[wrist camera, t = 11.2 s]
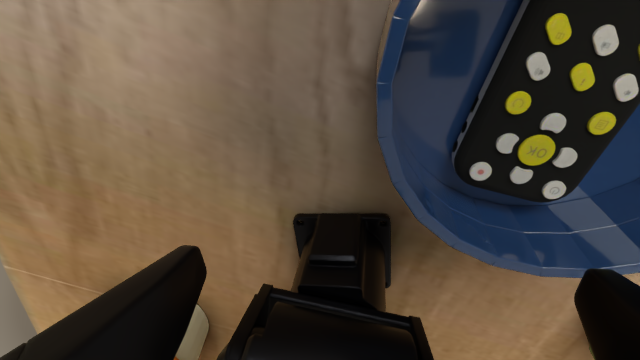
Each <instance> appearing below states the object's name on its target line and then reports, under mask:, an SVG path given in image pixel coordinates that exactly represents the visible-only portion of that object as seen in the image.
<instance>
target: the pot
mask: <svg viewBox="0 0 640 360" xmlns="http://www.w3.org/2000/svg"><path fill="white" fill-rule="evenodd" d="M522 2H523V0H392V1H391V3H390V7H389V8H388V12H387V16H386V20H385V25H384V28H383V32H382V37H381V42H380V46H379V50H378V55H377V73H376V103H377V137H378V142H379V145H380V148H381V151H382V154H383V157H384V160H385V164H386V167H387V170H388V173H389V176H390V179H391V182H392V183H393V186H394V187H395V189H396V190H397V192H398V193H399V194H400V196H401V197H402V199H403V200H404V202H405V203H406V205H407V206H408V207H409V209H410V210H411V212H412V213H413V215H414V216H415V217H416V219H417V220H418V221H419V222H420V223H422V224H423V225H424V226H425V227H427V228H428V229H429V230H430V231H432V232H433V233H434V234H435V235H437V236H438V237H439V238H440V239H441V240H443V241H444V242H445V243H446V244H448V245H449V246H450V247H452V248H454V249H456V250H458V251H461V252H463V253H465V254H467V255H469V256H472V257H474V258H476V259H478V260H480V261H482V262H485V263H487V264H489V265H492V266H495V267H499V268H504V269H508V270H513V271H517V272H522V273H526V274H531V275H535V276H540V277H566V278H582V277H583V275H584V273H585V271H586V270H588V269H590V268H599V269H610V270H613V271H615V272H617V273H619V274H620V275H625V274H633V273H640V104H639V105H638V107H637V108H636V109H635V111H634V112H633V113H632V115H631V116H630V117H629V119H628V120H627V121H626V123H625V124H624V125H623V126H622V128H621V129H620V130H619V132H618V133H617V134H616V136H615V137H614V138H613V140H612V141H611V142H610V144H609V145H608V146H607V148H606V149H605V150H604V152H603V153H602V154H601V156H600V157H599V158H598V159H597V161H596V162H595V163H594V165H593V166H592V167H591V169H590V170H589V171H588V173H587V174H586V175H585V177H584V178H583V179H582V181H581V182H580V183H579V185H578V186H577V187H576V188H575V189H574V190H573V191H572V192H571V193H570V194H568V195H567V196H565V197H563V198H561V199H559V200H555V201H551V202H542V203H540V202H533V201H529V200H525V199H521V198H517V197H513V196H509V195H505V194H501V193H497V192H493V191H489V190H485V189H481V188H477V187H474V186H471V185H469V184H466V183H465V182H464V181H462V180H461V179H460V177H459V176H458V175H457V173H456V171H455V169H454V166H453V163H452V151H453V145H454V143H455V142H456V141H457V139H458V137H459V135H460V133H461V131H462V126H463V124H464V123H465V122H466V120H467V118H468V116H469V114H470V109H471V107H472V105H473V103H474V101H475V99H476V97H477V95H479V93H480V90H481V88H482V86H483V84H484V82H485V80H486V78H487V76H488V74H489V71H490V69H491V67H492V65H493V63H494V61H495V59H496V57H497V55H498V52H499V50H500V48H501V46H502V44H503V42H504V40H505V38H506V35H507V33H508V31H509V29H510V27H511V25H512V23H513V21H514V19H515V16H516V14H517V12H518V10H519V8H520V6H521V4H522Z"/></svg>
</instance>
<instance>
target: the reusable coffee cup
mask: <svg viewBox="0 0 640 360" xmlns="http://www.w3.org/2000/svg"><path fill="white" fill-rule="evenodd" d="M208 329H209V324H208V319H207V317H206V315H205V313H204V312H203V310H202V309H201V308H200V307H199V306H198V305H197V304H196V307H195V310H194V312H193V315H192V318H191V321H190V324H189V326H188V329H187V331H186V334H185V336H184V338H183V341H182V343H181V345H180V347H179V349H178V351H177V353H176V355H175V358H174V360H198V359H199V356H200V353H201V350H202V347H203V344H204V342H205V339H206V336H207V333H208Z"/></svg>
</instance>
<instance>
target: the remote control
mask: <svg viewBox="0 0 640 360" xmlns="http://www.w3.org/2000/svg"><path fill="white" fill-rule="evenodd" d="M639 104H640V0H523V2H522V4H521V6H520V8H519V10H518V12H517V14H516V16H515V19H514V21H513V23H512V25H511V27H510V29H509V31H508V33H507V35H506V38H505V40H504V42H503V44H502V46H501V48H500V50H499V52H498V55H497V57H496V59H495V61H494V63H493V65H492V67H491V69H490V71H489V74H488V76H487V78H486V80H485V82H484V84H483V86H482V88H481V90H480V93H479V95H477V97H476V99H475V101H474V103H473V105H472V107H471V109H470V114H469V116H468V118H467V120H466V122H465V123H464V124H463V126H462V131H461V133H460V135H459V137H458V139H457V141H456V142H455V143H454V145H453V151H452V163H453V166H454V169H455V171H456V173H457V175H458V176H459V177H460V179H461V180H462V181H464V182H465V183H466V184H469V185H471V186H474V187H477V188H481V189H485V190H489V191H493V192H497V193H501V194H505V195H509V196H513V197H517V198H521V199H525V200H529V201H533V202H540V203H542V202H551V201H555V200H559V199H561V198H563V197H565V196H567V195H568V194H570V193H571V192H572V191H573V190H574V189H575V188H576V187H577V186H578V185H579V183H580V182H581V181H582V179H583V178H584V177H585V175H586V174H587V173H588V171H589V170H590V169H591V167H592V166H593V165H594V163H595V162H596V161H597V159H598V158H599V157H600V156H601V154H602V153H603V152H604V150H605V149H606V148H607V146H608V145H609V144H610V142H611V141H612V140H613V138H614V137H615V136H616V134H617V133H618V132H619V130H620V129H621V128H622V126H623V125H624V124H625V123H626V121H627V120H628V119H629V117H630V116H631V115H632V113H633V112H634V111H635V109H636V108H637V107H638V105H639Z"/></svg>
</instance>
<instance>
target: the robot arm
mask: <svg viewBox="0 0 640 360" xmlns="http://www.w3.org/2000/svg"><path fill="white" fill-rule="evenodd" d="M298 220H302V221H303V222H299V221H298ZM380 221H385V223H380ZM293 225H294V230H295V235H296V241H297V246H298V251H299V257H300V261H299V265H298V268H297V272H296V275H295V279H294V282H293V286H292V289H291V291H287V290H283V289H278V288H274V287H273V285H268V284H263V285H262V287H261V289H260V291H259V293H258V294H255V296H254V298H253V300H252V301H251V303H250V305H249V307H248V309H247V311H246V312H245V314H244V316H243V318H242V320H241V322H240V323H239V325H238V327H237V329H236V331H235V332H234V334H233V336H232V338H231V340H230V342H229V343H228V344H227V346H226V347H225V348H224V349H223V350H222V352H221V353H220V354H219V356H218V357H217V360H434V359H433V356H432V353H431V349H430V346H429V343H428V340H427V337H426V334H425V331H424V328H423V325H422V322H421V319H420V318H419V317H414V316H409V317H406V316H401V315H397V314H392V313H388V312H386V302H385V288H388V287H389V286H390V285H391V221H390V218H389V216H387V215H385V214H327V213H322V214H297V215H296V216H295V218H294V220H293ZM206 274H207V271H206V266H205V263H204V260H203V257H202V254H201V251H200V249H199V248H198V247H197V246H188V245H183V246H180V247H178V248H177V249H175V250H174V251H172V252H170V253H169V254H167V255H166V256H164V257H162V258H161V259H159V260H157V261H156V262H154V263H153V264H151V265H149V266H148V267H146V268H145V269H143V270H141V271H140V272H138V273H136V274H135V275H133V276H132V277H130V278H128V279H127V280H125V281H124V282H122V283H120V284H119V285H117V286H115V287H114V288H112V289H111V290H109V291H107V292H106V293H104V294H102V295H101V296H99V297H98V298H96V299H94V300H93V301H91V302H90V303H88V304H86V305H85V306H83V307H81V308H80V309H78V310H77V311H75V312H73V313H72V314H70V315H69V316H67V317H65V318H64V319H62V320H60V321H59V322H57V323H56V324H54V325H52V326H51V327H49V328H47V329H46V330H44V331H43V332H41V333H39V334H38V335H36V336H35V337H33V338H32V339H30V340H29V341H28V342H27V343H23V344H21V345H20V346H18V347H17V348H15V349H13V350H12V351H10V352H9V353H7V354H6V355H4V356H2V357H1V358H0V360H174V358H175V355H176V353H177V351H178V349H179V347H180V345H181V343H182V341H183V338H184V336H185V334H186V331H187V329H188V326H189V324H190V321H191V318H192V315H193V312H194V310H195V307H196V304H197V301H198V298H199V296H200V293H201V290H202V287H203V284H204V282H205V279H206ZM574 301H575V306H576V309H577V311H578V314H579V317H580V320H581V322H582V325H583V328H584V331H585V333H586V336H587V339H588V342H589V344H590V347H591V350H592V352H593V355H594V358H595V360H640V286H638V285H637V284H635V283H633V282H632V281H630V280H629V279H627V278H625V277H624V276H622V275H620V274H619V273H617V272H615V271H613V270H610V269H599V268H590V269H588V270H586V271H585V273H584V275H583V277H582V279H581V282H580V284H579V286H578V288H577V290H576V292H575V296H574Z"/></svg>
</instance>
